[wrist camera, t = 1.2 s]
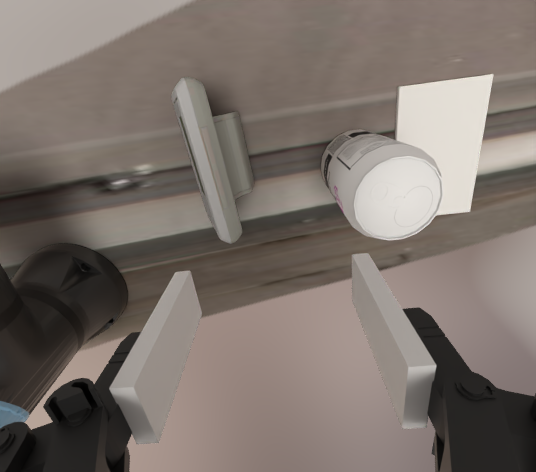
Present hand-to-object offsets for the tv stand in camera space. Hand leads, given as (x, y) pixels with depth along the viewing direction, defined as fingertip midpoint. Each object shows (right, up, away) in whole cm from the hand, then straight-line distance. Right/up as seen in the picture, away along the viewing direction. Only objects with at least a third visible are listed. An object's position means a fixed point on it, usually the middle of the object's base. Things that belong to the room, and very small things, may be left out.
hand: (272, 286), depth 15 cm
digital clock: (-7, +13, +22) cm, 27 cm away
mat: (+20, +13, +21) cm, 32 cm away
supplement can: (+10, +12, +22) cm, 27 cm away
